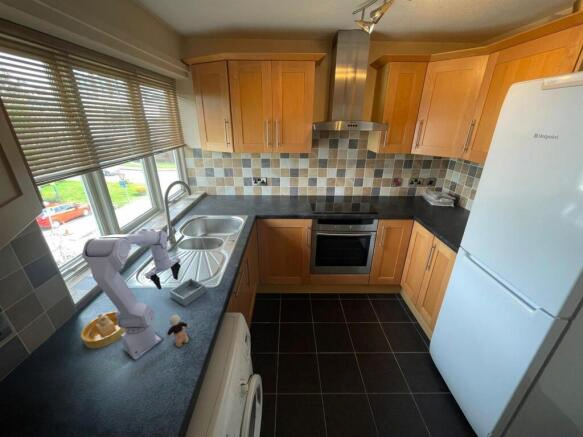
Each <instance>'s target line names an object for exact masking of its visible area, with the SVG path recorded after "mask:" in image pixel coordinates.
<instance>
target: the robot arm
mask: <svg viewBox="0 0 583 437" xmlns="http://www.w3.org/2000/svg"><path fill="white" fill-rule="evenodd" d="M132 245H136V246H138V247H148V246H149V250H150V253H151V256H152V259H153V263H154V267H153V268H151V269H150V270H149V271H147V272H145V273H144V276H145V278H146V279H147V280H151V281H152V282H153V284H154V285H155V287H156V288H157V289H158V290H162V284H161V278H160V276H158V274H160V273H162V272H163V273H164V272H166V271H169V270H171V273H172V278H173V279H174V280H175V281H178V280H179V272H180V269H181V267H182V266H181V262H182V261H181V258H179V257H175V258H173V259H170V254H169V252H168V247H167V246H168V233H167V232H166V231H165V230H163V229H154V228H150V229H149V230H148V228H141V230H138V231H136V232H135V233H134V234H110V235H102V236H98V238H97V237H92V238H91V237H90V238H89V239H87V240H86V242H85V243H84V245H83V249H82V254H81V257H82V258H83V260H84V261H85V262H86V263H87V264H88V265H89V268H90V272H91V275H92V278H93V280H94V282H95V283H96V284H97V285H98V286H99V288H100V289H101V290H102V291H103V293H104V294H105V295H106V296H107V298H108V299H109V300H110V301H111V303H112V304H113V305H114V307H115V308H116V309H117V310H116V311H117V313H116V315H115V318H116V319H117V323H118V326H119V327H120V328H124V329H125V330H126V331H125V332H124V333H123V334H122V335H121V336H120V338H119V340H120V341H121V344H122V346H123V350H124V351H125V352H126V353H127V354H128V355H129V356H130V357H132V359H134V360H138V359H139V358H140V357H142V356H143V355H145V354H146V353H147V352H148V351H149V350H151V349H152V348H153V347H155V346H156V345H157V344H158V343H160V342H161V341H162V338H161V337H160V336H158V335H157V334H156V333H155V330H154V326H153V322H154V320H155V317H156V314H155V310H154V308H152V307H150V306H149V304H146V303H143V302H140V301H139V300H138V299H137V297H136V296H135V294H134V293H133V291H132V290H131V289H130V287H129V285H128V284H127V283H126V281H125V279H124V278H123V276H122V275H121V273H120V272H119V271H121V270H123V269H124V267H125V264H126V262H127V259H128V256H129V254H130V251H131V250H132Z"/></svg>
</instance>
